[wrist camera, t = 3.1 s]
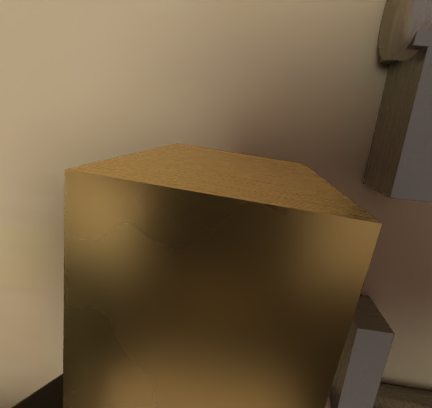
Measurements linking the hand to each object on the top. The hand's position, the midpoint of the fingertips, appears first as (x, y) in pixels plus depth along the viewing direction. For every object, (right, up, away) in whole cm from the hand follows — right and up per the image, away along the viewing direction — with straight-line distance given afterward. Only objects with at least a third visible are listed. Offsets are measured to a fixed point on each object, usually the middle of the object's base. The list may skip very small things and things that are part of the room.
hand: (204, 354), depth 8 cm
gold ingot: (0, 0, +1) cm, 1 cm away
